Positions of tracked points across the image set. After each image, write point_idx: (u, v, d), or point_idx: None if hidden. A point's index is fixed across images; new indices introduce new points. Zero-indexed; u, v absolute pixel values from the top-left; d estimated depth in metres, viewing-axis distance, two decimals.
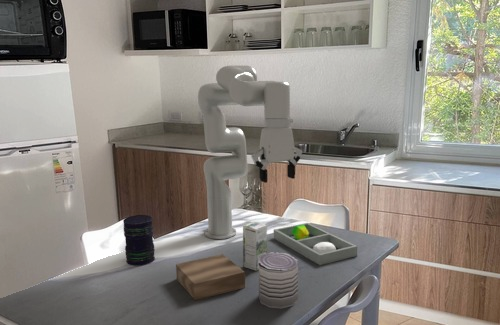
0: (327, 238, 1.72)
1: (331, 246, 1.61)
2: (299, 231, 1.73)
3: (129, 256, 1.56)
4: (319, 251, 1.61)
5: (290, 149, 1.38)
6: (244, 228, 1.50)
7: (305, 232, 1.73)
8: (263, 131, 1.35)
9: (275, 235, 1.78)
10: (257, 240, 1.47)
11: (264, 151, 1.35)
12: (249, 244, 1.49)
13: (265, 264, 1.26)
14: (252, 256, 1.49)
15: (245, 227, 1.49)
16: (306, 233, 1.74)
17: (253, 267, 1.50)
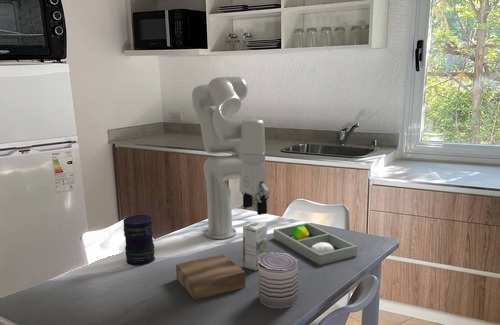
0: (327, 238, 1.72)
1: (329, 246, 1.61)
2: (299, 231, 1.72)
3: (129, 256, 1.56)
4: (317, 251, 1.60)
5: None
6: (244, 228, 1.50)
7: (305, 233, 1.73)
8: (259, 166, 1.42)
9: (275, 235, 1.78)
10: (257, 240, 1.47)
11: (264, 184, 1.43)
12: (249, 244, 1.49)
13: (265, 264, 1.26)
14: (252, 256, 1.49)
15: (245, 227, 1.49)
16: (306, 234, 1.73)
17: (253, 267, 1.50)
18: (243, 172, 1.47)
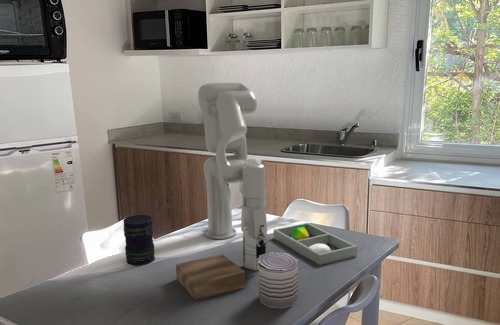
0: (327, 238, 1.72)
1: (326, 248, 1.60)
2: (300, 233, 1.71)
3: (129, 256, 1.56)
4: None
5: None
6: (244, 228, 1.50)
7: (305, 234, 1.71)
8: (260, 210, 1.45)
9: (275, 235, 1.78)
10: None
11: (264, 228, 1.46)
12: (249, 244, 1.49)
13: (265, 265, 1.26)
14: (252, 256, 1.49)
15: (245, 227, 1.49)
16: (306, 235, 1.72)
17: (253, 267, 1.50)
18: (243, 214, 1.50)
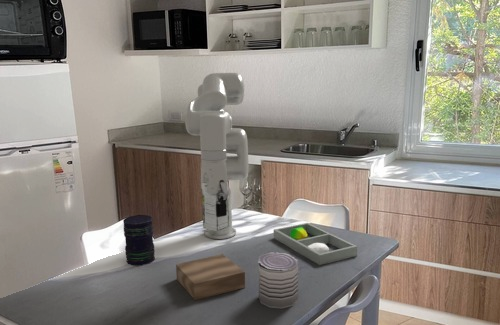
0: (327, 238, 1.72)
1: (324, 247, 1.61)
2: (299, 233, 1.70)
3: (129, 256, 1.56)
4: None
5: None
6: (203, 185, 1.36)
7: (304, 234, 1.71)
8: (219, 164, 1.32)
9: (275, 235, 1.78)
10: None
11: (225, 183, 1.33)
12: (209, 202, 1.36)
13: (265, 265, 1.26)
14: (212, 215, 1.36)
15: (204, 183, 1.36)
16: (305, 235, 1.71)
17: (213, 227, 1.37)
18: (202, 170, 1.37)
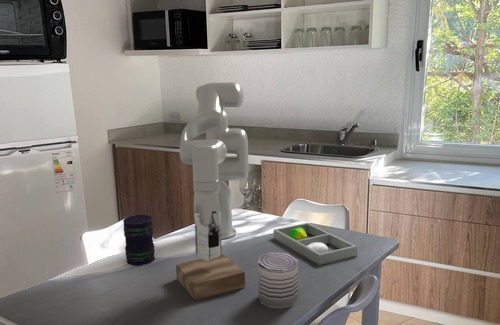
0: (327, 238, 1.72)
1: (323, 246, 1.61)
2: (299, 233, 1.70)
3: (129, 256, 1.56)
4: None
5: None
6: (196, 215, 1.36)
7: (304, 234, 1.71)
8: (211, 195, 1.32)
9: (275, 235, 1.78)
10: None
11: (217, 214, 1.33)
12: (201, 233, 1.36)
13: (265, 265, 1.26)
14: (204, 246, 1.36)
15: (197, 214, 1.36)
16: (305, 235, 1.71)
17: (206, 258, 1.36)
18: (195, 200, 1.37)
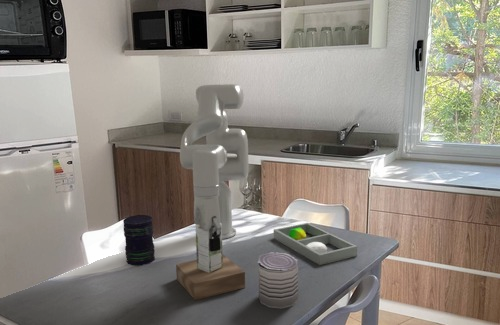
0: (327, 238, 1.72)
1: (322, 246, 1.62)
2: (298, 234, 1.70)
3: (129, 256, 1.56)
4: None
5: None
6: (197, 226, 1.37)
7: (303, 234, 1.71)
8: (211, 200, 1.32)
9: (275, 235, 1.78)
10: None
11: (217, 219, 1.33)
12: (202, 244, 1.36)
13: (265, 265, 1.26)
14: (205, 257, 1.36)
15: (198, 225, 1.37)
16: (304, 235, 1.71)
17: (206, 269, 1.37)
18: (195, 204, 1.37)
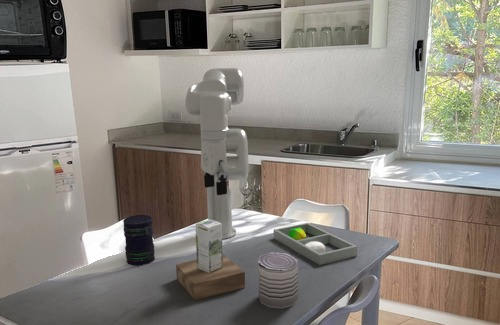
0: (327, 238, 1.72)
1: (321, 245, 1.62)
2: (298, 234, 1.70)
3: (129, 256, 1.56)
4: None
5: None
6: (197, 226, 1.37)
7: (303, 234, 1.71)
8: (218, 144, 1.34)
9: (275, 235, 1.78)
10: (209, 239, 1.35)
11: (224, 163, 1.35)
12: (202, 244, 1.36)
13: (265, 265, 1.26)
14: (205, 257, 1.36)
15: (198, 225, 1.37)
16: (304, 235, 1.71)
17: (206, 269, 1.37)
18: (202, 150, 1.39)
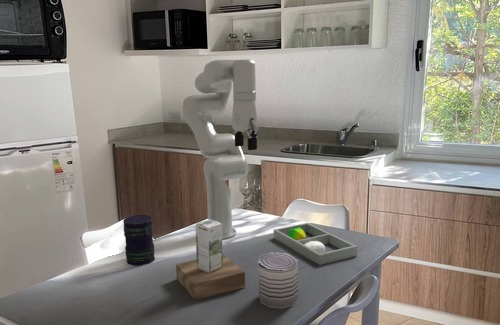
0: (327, 238, 1.72)
1: (321, 245, 1.63)
2: (298, 234, 1.70)
3: (129, 256, 1.56)
4: None
5: None
6: (197, 226, 1.37)
7: (303, 235, 1.71)
8: (250, 103, 1.50)
9: (275, 235, 1.78)
10: (209, 239, 1.35)
11: None
12: (202, 244, 1.36)
13: (265, 265, 1.26)
14: (205, 257, 1.36)
15: (198, 225, 1.37)
16: (304, 235, 1.71)
17: (206, 269, 1.37)
18: (234, 110, 1.55)
